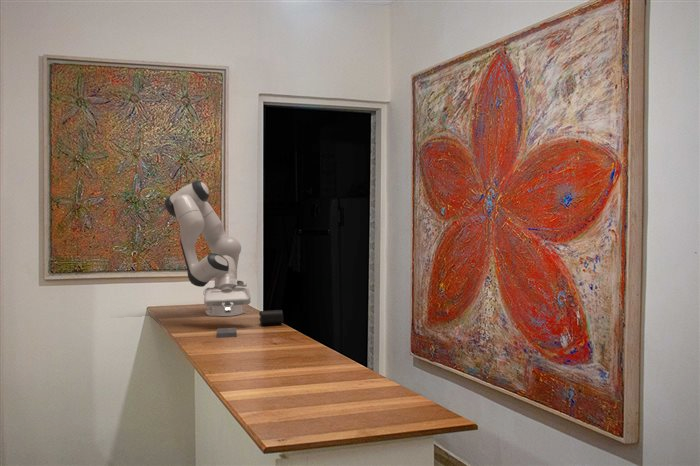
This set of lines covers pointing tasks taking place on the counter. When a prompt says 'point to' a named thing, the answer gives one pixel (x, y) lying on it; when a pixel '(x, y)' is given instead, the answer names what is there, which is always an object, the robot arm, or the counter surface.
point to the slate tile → (226, 332)
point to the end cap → (271, 317)
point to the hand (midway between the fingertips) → (227, 311)
